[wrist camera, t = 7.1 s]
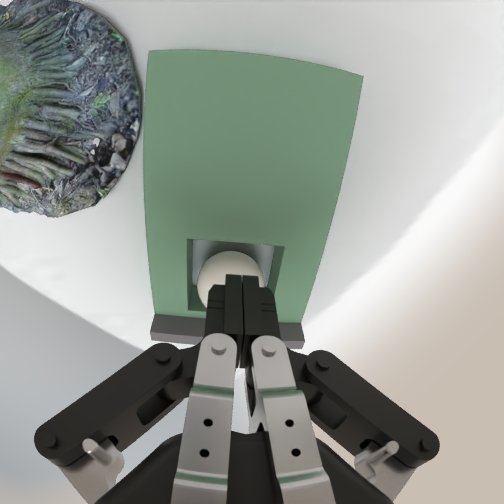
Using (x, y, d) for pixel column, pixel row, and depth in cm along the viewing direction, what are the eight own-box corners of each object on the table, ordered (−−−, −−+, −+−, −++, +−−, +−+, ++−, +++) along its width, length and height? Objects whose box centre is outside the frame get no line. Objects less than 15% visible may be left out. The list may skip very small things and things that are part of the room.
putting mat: (162, 55, 15) (137, 47, 10) (345, 76, 16) (378, 76, 12) (162, 298, 25) (151, 340, 21) (293, 306, 27) (301, 348, 22)
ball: (194, 330, 20) (199, 288, 25) (262, 333, 21) (257, 292, 25) (194, 273, 18) (200, 237, 22) (273, 278, 18) (265, 241, 23)
